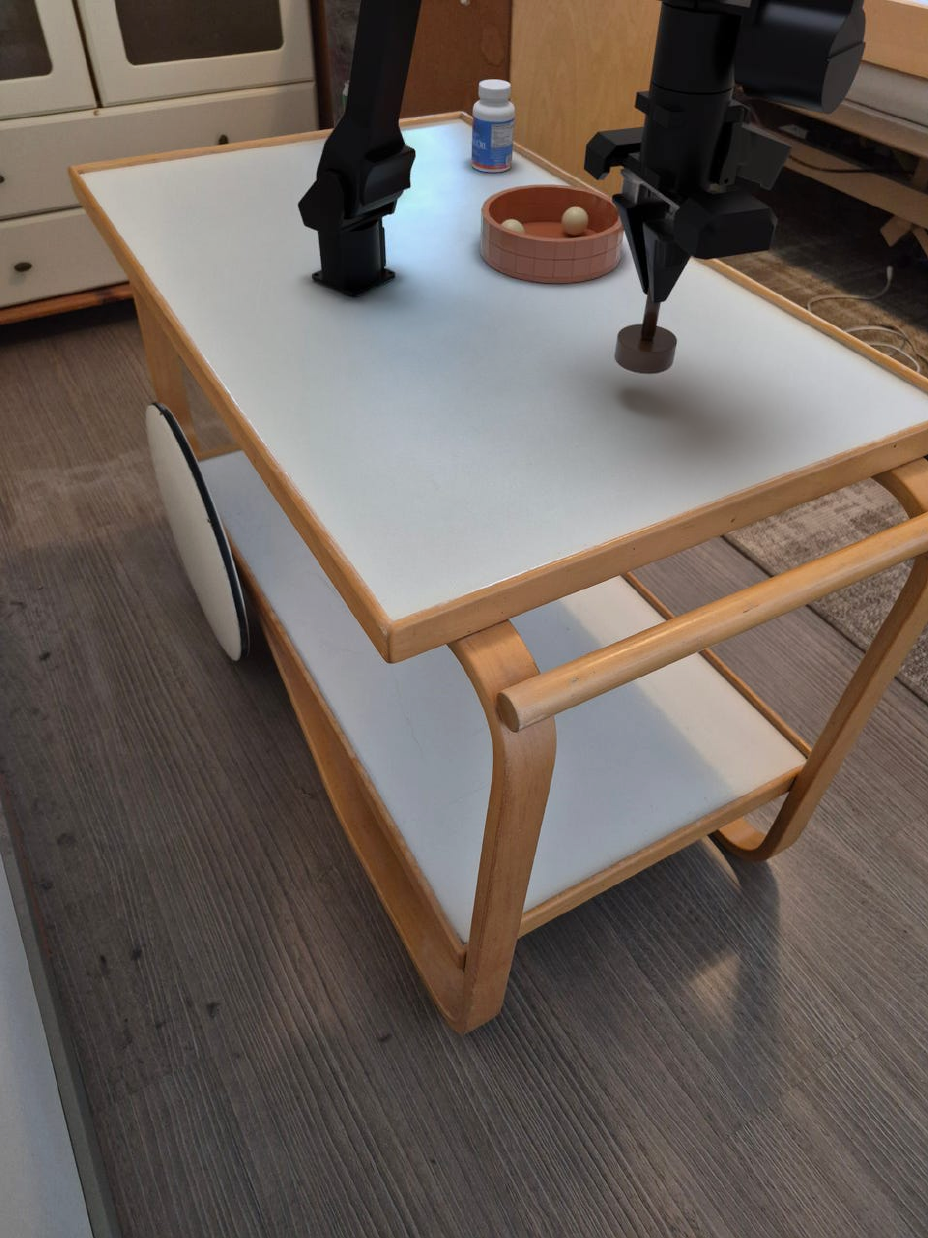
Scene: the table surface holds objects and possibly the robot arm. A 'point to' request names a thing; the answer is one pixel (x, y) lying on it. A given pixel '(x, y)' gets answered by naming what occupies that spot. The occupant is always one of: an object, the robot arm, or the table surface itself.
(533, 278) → the bowl
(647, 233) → the robot arm
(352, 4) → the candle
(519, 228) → the dumpling
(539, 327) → the table surface
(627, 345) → the brown peg stand
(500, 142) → the pill bottle
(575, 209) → the dumpling
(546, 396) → the table surface
